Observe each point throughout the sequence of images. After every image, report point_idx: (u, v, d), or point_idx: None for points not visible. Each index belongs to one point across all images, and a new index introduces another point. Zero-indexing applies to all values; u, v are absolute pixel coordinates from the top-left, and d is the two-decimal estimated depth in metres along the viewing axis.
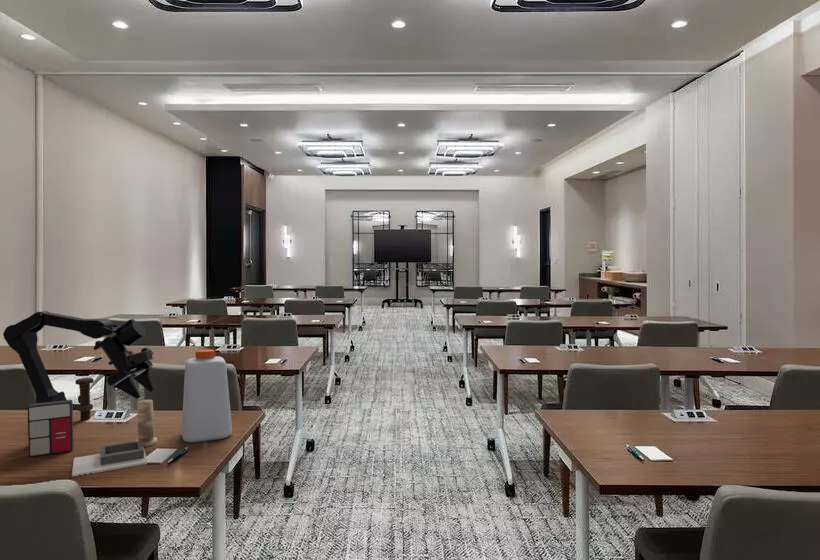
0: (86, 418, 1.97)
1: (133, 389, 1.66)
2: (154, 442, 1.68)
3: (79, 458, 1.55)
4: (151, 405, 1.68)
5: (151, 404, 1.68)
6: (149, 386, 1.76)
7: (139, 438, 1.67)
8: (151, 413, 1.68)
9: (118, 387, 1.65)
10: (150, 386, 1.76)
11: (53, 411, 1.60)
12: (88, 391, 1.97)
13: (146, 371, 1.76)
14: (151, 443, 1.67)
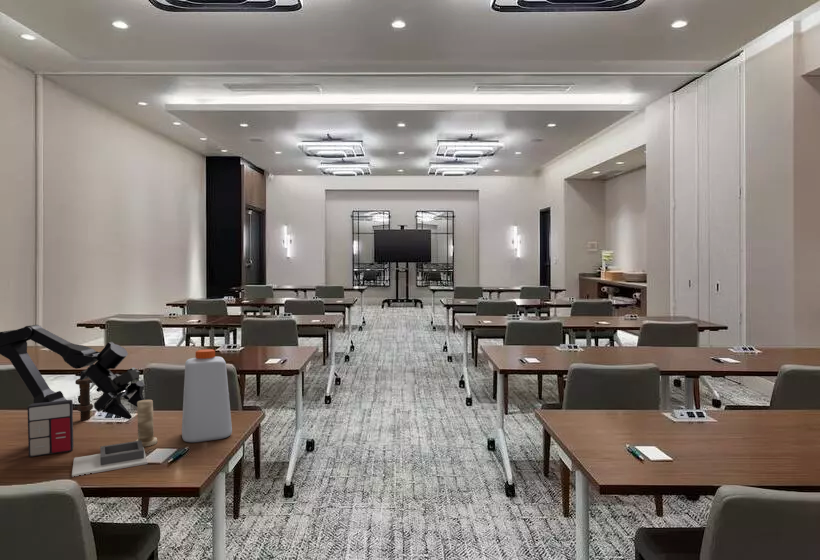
0: (86, 418, 1.97)
1: (123, 410, 1.63)
2: (154, 442, 1.68)
3: (79, 458, 1.55)
4: (151, 405, 1.68)
5: (151, 404, 1.68)
6: None
7: (139, 438, 1.67)
8: (151, 413, 1.68)
9: (108, 411, 1.63)
10: None
11: (53, 411, 1.60)
12: (88, 391, 1.97)
13: (138, 392, 1.74)
14: (151, 443, 1.67)
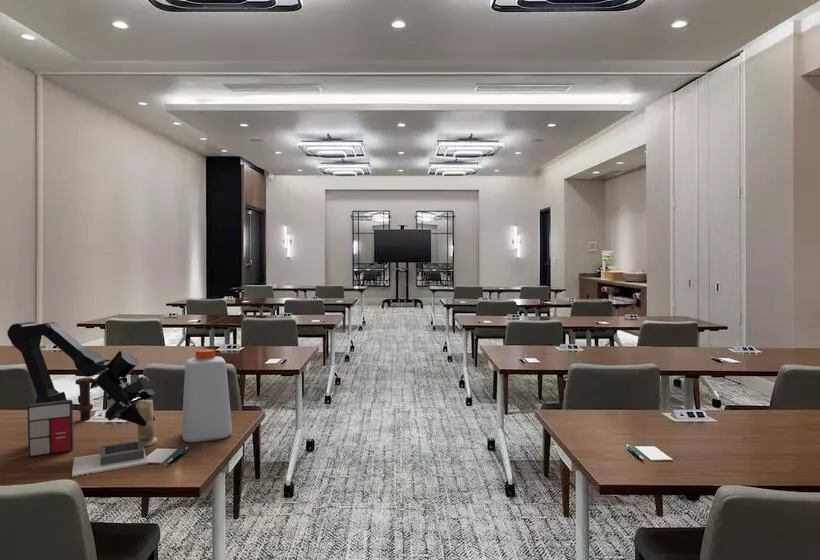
0: (86, 418, 1.97)
1: (138, 417, 1.65)
2: (154, 442, 1.68)
3: (79, 458, 1.55)
4: (151, 405, 1.68)
5: (151, 404, 1.68)
6: None
7: (139, 438, 1.67)
8: (151, 413, 1.68)
9: (123, 418, 1.65)
10: None
11: (53, 411, 1.60)
12: (88, 391, 1.97)
13: None
14: (151, 443, 1.67)
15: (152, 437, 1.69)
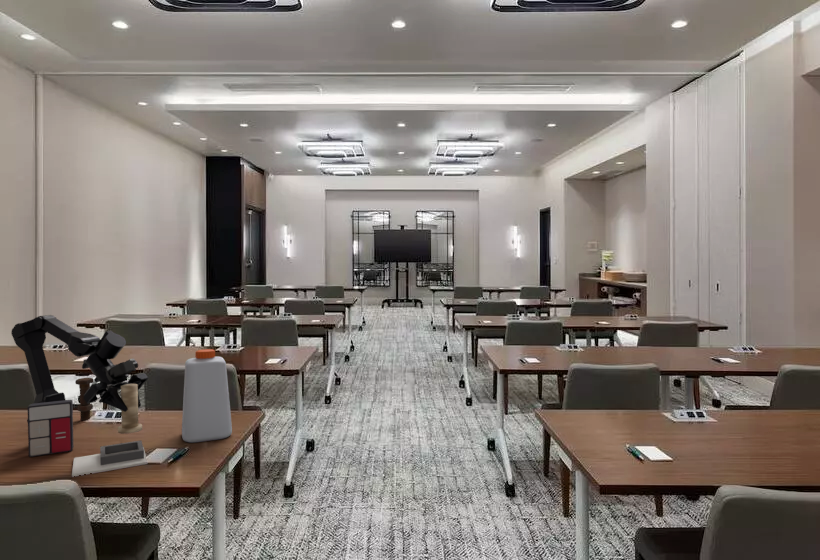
0: (86, 418, 1.97)
1: (119, 402, 1.56)
2: (136, 429, 1.58)
3: (79, 458, 1.55)
4: (134, 390, 1.58)
5: (134, 389, 1.58)
6: None
7: (122, 424, 1.58)
8: (134, 398, 1.58)
9: (105, 401, 1.57)
10: None
11: (53, 411, 1.60)
12: None
13: None
14: (132, 430, 1.57)
15: (135, 424, 1.59)
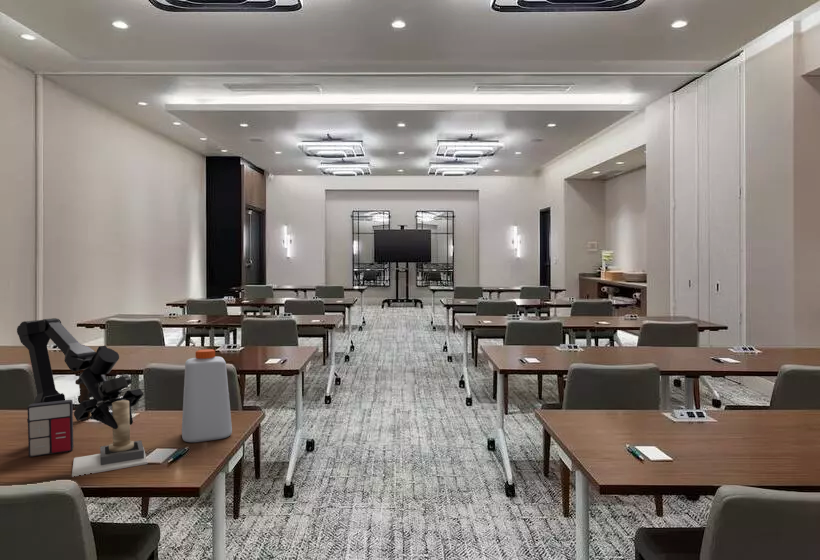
0: (86, 418, 1.97)
1: (109, 419, 1.53)
2: (127, 447, 1.54)
3: (79, 458, 1.55)
4: (125, 407, 1.55)
5: (125, 406, 1.55)
6: None
7: (113, 441, 1.55)
8: (125, 416, 1.55)
9: (96, 418, 1.54)
10: None
11: (53, 411, 1.60)
12: (88, 391, 1.97)
13: None
14: (122, 448, 1.54)
15: (126, 442, 1.55)
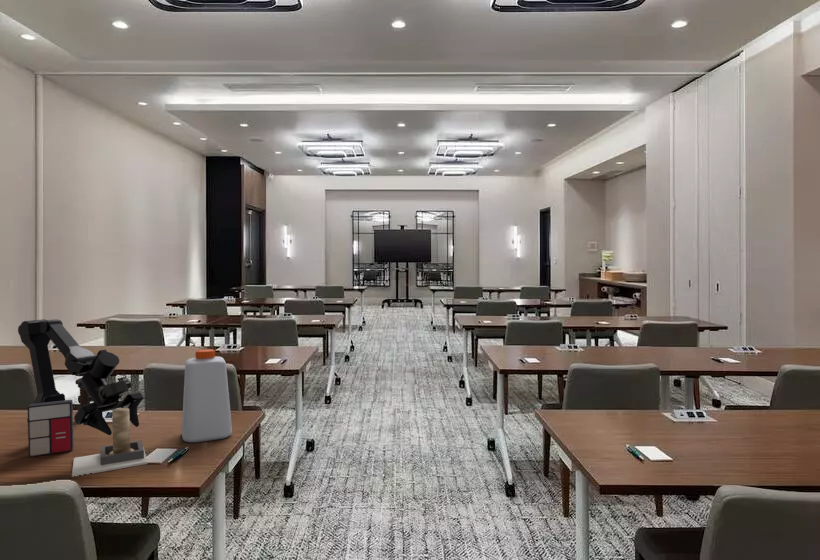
0: None
1: (103, 425, 1.51)
2: None
3: (79, 458, 1.55)
4: (125, 415, 1.55)
5: (125, 414, 1.55)
6: (134, 421, 1.60)
7: (113, 449, 1.55)
8: (125, 424, 1.55)
9: (90, 424, 1.52)
10: (135, 420, 1.60)
11: (53, 411, 1.60)
12: None
13: (131, 404, 1.61)
14: None
15: (126, 450, 1.55)
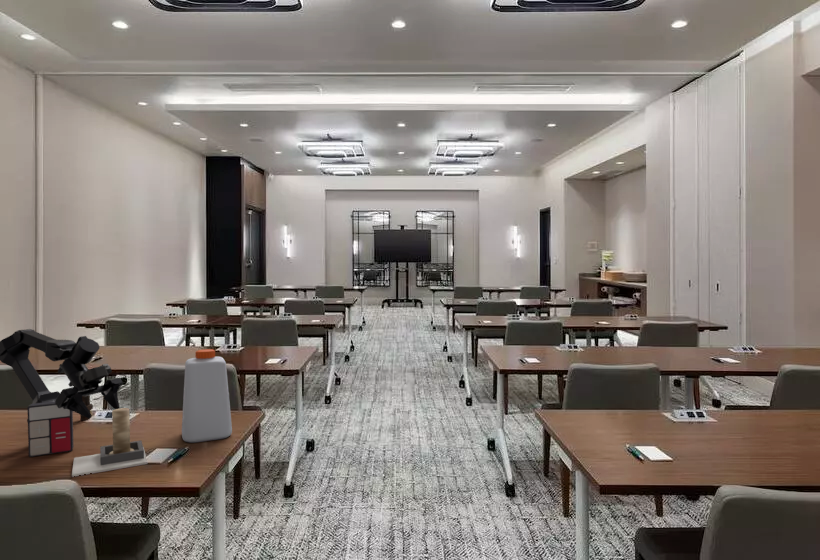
0: (86, 418, 1.97)
1: (82, 409, 1.56)
2: None
3: (79, 458, 1.55)
4: (125, 415, 1.55)
5: (125, 414, 1.55)
6: (115, 405, 1.65)
7: (113, 449, 1.55)
8: (125, 424, 1.55)
9: (69, 408, 1.57)
10: (116, 404, 1.65)
11: (53, 411, 1.60)
12: None
13: (111, 389, 1.66)
14: None
15: (126, 450, 1.55)
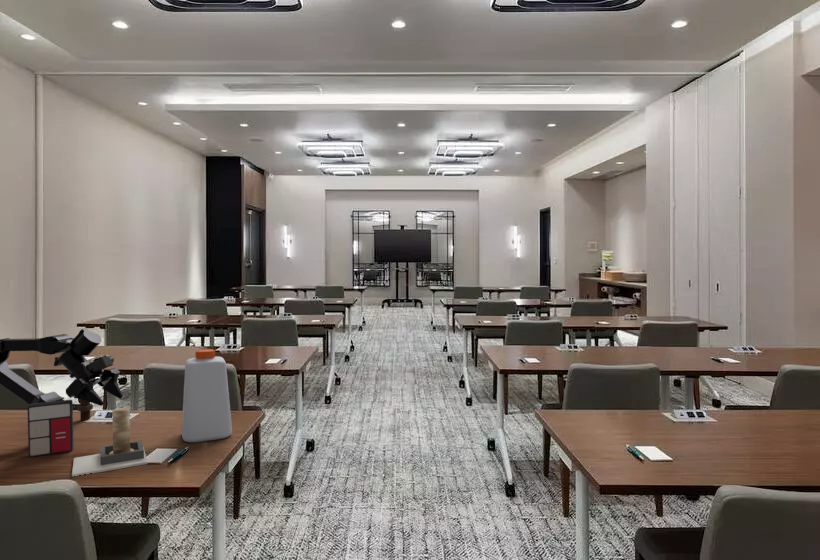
0: (86, 418, 1.97)
1: (95, 397, 1.63)
2: None
3: (79, 458, 1.55)
4: (125, 415, 1.55)
5: (125, 414, 1.55)
6: (117, 393, 1.73)
7: (113, 449, 1.55)
8: (125, 423, 1.55)
9: (80, 397, 1.63)
10: (118, 393, 1.73)
11: (53, 411, 1.60)
12: None
13: (112, 379, 1.74)
14: None
15: (126, 450, 1.55)
